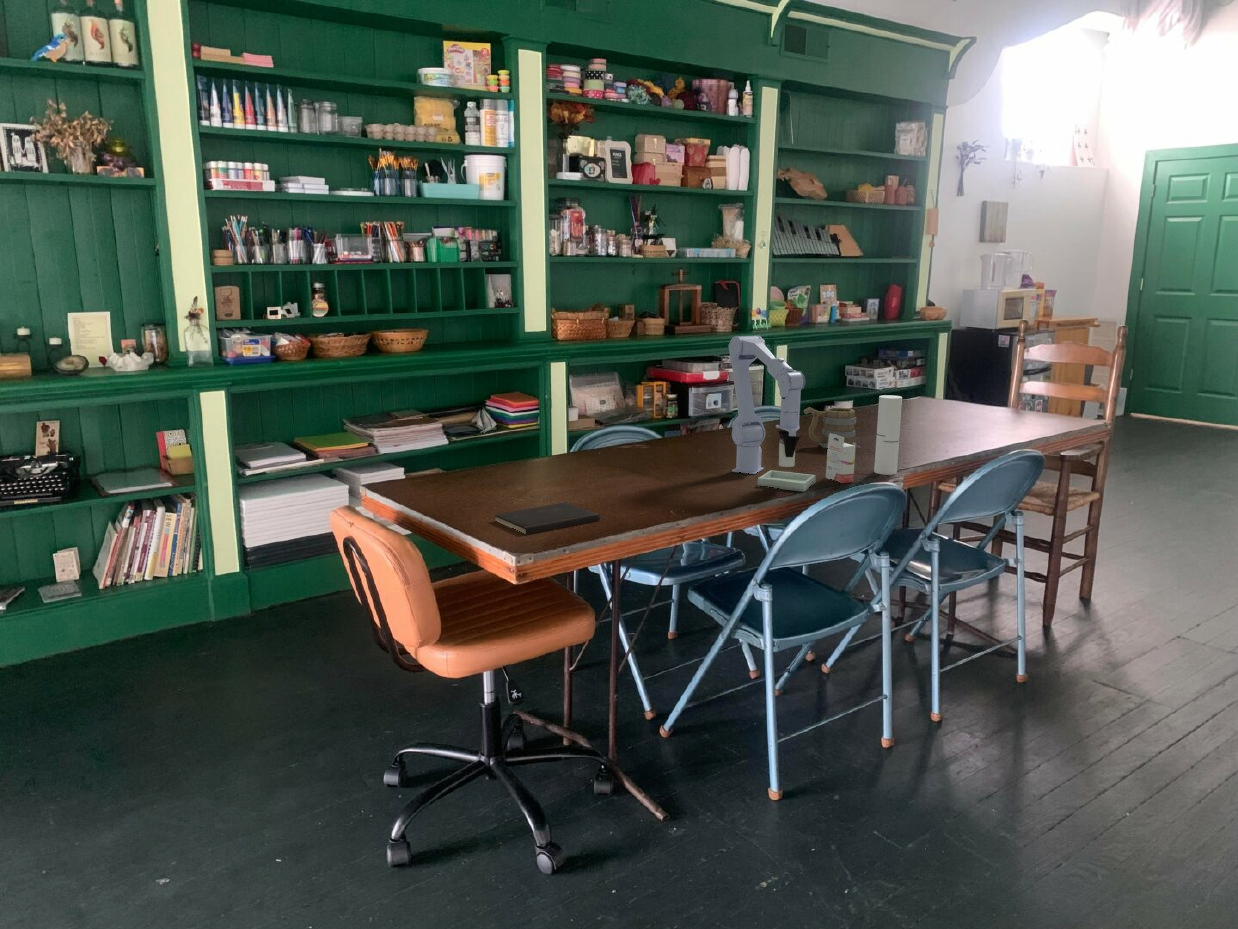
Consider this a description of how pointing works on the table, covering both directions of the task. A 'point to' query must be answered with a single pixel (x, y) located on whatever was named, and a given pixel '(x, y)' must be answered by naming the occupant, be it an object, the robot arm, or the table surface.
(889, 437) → the cylindrical container
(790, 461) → the shaker
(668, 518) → the table surface
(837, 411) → the tankard
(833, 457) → the ink cartridge box
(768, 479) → the tray
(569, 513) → the hardcover book
